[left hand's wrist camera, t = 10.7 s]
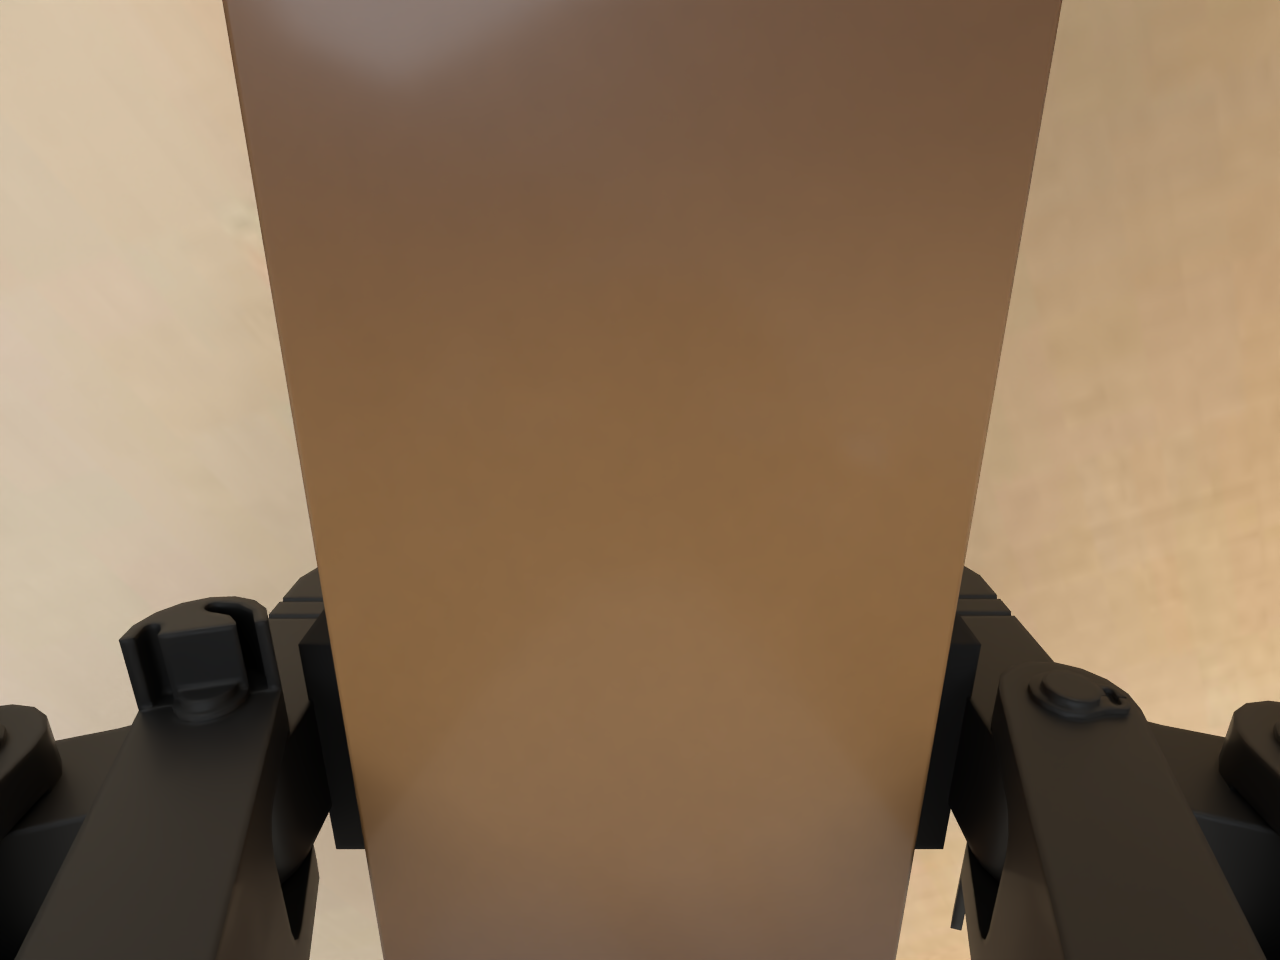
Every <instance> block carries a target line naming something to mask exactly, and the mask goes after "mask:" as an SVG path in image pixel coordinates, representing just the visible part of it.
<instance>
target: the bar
mask: <svg viewBox="0 0 1280 960" xmlns="http://www.w3.org/2000/svg"><path fill="white" fill-rule="evenodd" d="M222 1H223V7H224V13H225V19H226V25H227V31H228V36H229V42H230V48H231V54H232V60H233V66H234V72H235V78H236V84H237V90H238V96H239V102H240V108H241V114H242V120H243V126H244V132H245V138H246V144H247V149H248V155H249V161H250V167H251V173H252V179H253V185H254V191H255V197H256V203H257V209H258V215H259V221H260V227H261V233H262V239H263V245H264V251H265V257H266V262H267V268H268V274H269V280H270V286H271V292H272V298H273V304H274V310H275V316H276V322H277V328H278V334H279V340H280V346H281V352H282V358H283V364H284V370H285V375H286V381H287V387H288V393H289V399H290V405H291V411H292V417H293V423H294V429H295V435H296V441H297V447H298V453H299V459H300V465H301V471H302V477H303V482H304V488H305V494H306V500H307V506H308V512H309V518H310V524H311V530H312V536H313V542H314V548H315V554H316V560H317V566H318V572H319V578H320V584H321V590H322V595H323V601H324V607H325V613H326V619H327V625H328V631H329V637H330V643H331V649H332V655H333V661H334V667H335V673H336V679H337V685H338V691H339V697H340V703H341V708H342V714H343V720H344V726H345V732H346V738H347V744H348V750H349V756H350V762H351V768H352V774H353V780H354V786H355V792H356V798H357V804H358V810H359V815H360V821H361V827H362V833H363V839H364V845H365V851H366V857H367V863H368V869H369V875H370V881H371V887H372V893H373V899H374V905H375V911H376V917H377V923H378V928H379V934H380V940H381V946H382V952H383V958H384V960H895V959H896V954H897V948H898V942H899V936H900V931H901V925H902V919H903V913H904V908H905V902H906V896H907V890H908V885H909V879H910V873H911V867H912V862H913V856H914V850H915V844H916V839H917V833H918V827H919V821H920V816H921V810H922V804H923V798H924V793H925V787H926V781H927V775H928V770H929V764H930V758H931V752H932V746H933V741H934V735H935V729H936V723H937V718H938V712H939V706H940V700H941V695H942V689H943V683H944V677H945V672H946V666H947V660H948V654H949V649H950V643H951V637H952V631H953V626H954V620H955V614H956V608H957V603H958V597H959V591H960V585H961V580H962V574H963V568H964V562H965V557H966V551H967V545H968V539H969V534H970V528H971V522H972V516H973V511H974V505H975V499H976V493H977V488H978V482H979V476H980V470H981V465H982V459H983V453H984V447H985V442H986V436H987V430H988V424H989V419H990V413H991V407H992V401H993V395H994V390H995V384H996V378H997V372H998V367H999V361H1000V355H1001V349H1002V344H1003V338H1004V332H1005V326H1006V321H1007V315H1008V309H1009V303H1010V298H1011V292H1012V286H1013V280H1014V275H1015V269H1016V263H1017V257H1018V252H1019V246H1020V240H1021V234H1022V229H1023V223H1024V217H1025V211H1026V206H1027V200H1028V194H1029V188H1030V183H1031V177H1032V171H1033V165H1034V160H1035V154H1036V148H1037V142H1038V137H1039V131H1040V125H1041V119H1042V114H1043V108H1044V102H1045V96H1046V91H1047V85H1048V79H1049V73H1050V68H1051V62H1052V56H1053V50H1054V44H1055V39H1056V33H1057V27H1058V21H1059V16H1060V10H1061V4H1062V0H222Z"/></svg>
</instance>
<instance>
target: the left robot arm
mask: <svg viewBox="0 0 1280 960" xmlns="http://www.w3.org/2000/svg"><path fill="white" fill-rule="evenodd" d="M119 642H120V646H121V649H122V653H123V656H124V660H125V663H126V667H127V670H128V674H129V677H130V681H131V684H132V688H133V691H134V695H135V699H136V702H137V706H138V709H139V712H138V714H137V716H136V718H135V720H134V722H133V724H132V725H130V726H127V727H123V728H119V729H114V730H109V731H103V732H98V733H93V734H88V735H83V736H78V737H73V738H68V739H63V740H58V741H55V740H54V737H53V734H52V731H51V728H50V725H49V722H48V719H47V716H46V715H45V714H43V713H42V712H41V711H39V710H38V709H36V708H35V707H30V706H21V705H13V704H12V705H4V706H0V960H309V957H310V949H311V941H312V933H313V925H314V916H315V908H316V900H317V892H318V884H319V872H318V865H317V859H316V854H315V849H314V841H315V839H316V837H317V835H318V833H319V831H320V829H321V827H322V825H323V823H324V821H325V819H326V817H327V815H328V813H330V818H331V823H332V829H333V834H334V839H335V845H336V849H365V845H364V839H363V833H362V827H361V821H360V815H359V810H358V804H357V798H356V792H355V786H354V780H353V774H352V768H351V762H350V756H349V750H348V744H347V738H346V732H345V726H344V720H343V714H342V708H341V703H340V697H339V691H338V685H337V679H336V673H335V667H334V661H333V655H332V649H331V643H330V637H329V631H328V625H327V619H326V613H325V607H324V601H323V595H322V590H321V584H320V578H319V572H318V568H316V569H314V570H313V571H311V572H309V573H308V574H306V575H304V576H303V577H301V578H300V579H299V580H298V581H297V582H296V583H295V585H294V586H293V587H292V588H291V589H290V590H289V592H288V593H287V594H286V595H285V596H284V597H283V602H279V603H278V605H277V606H276V607H275V608H274V609H273V610H272V612H271V613H270V614H269V619H268V615H267V610H266V608H265V607H264V606H262V605H261V604H259V603H258V602H257V601H255V600H251V599H246V598H241V597H236V596H233V597H209V598H205V599H200V600H195V601H190V602H185V603H181V604H178V605H175V606H173V607H170V608H167V609H164V610H162V611H159V612H156V613H154V614H152V615H151V616H149V617H147V618H145V619H144V620H142V621H140V622H139V623H137V624H135V625H133V626H132V627H131V628H130V629H129V630H128V631H127V632H126V633H125V634H124V635H123V636H122V637H121V638H120V639H119ZM950 810H952V812H953V814H954V816H955V818H956V820H957V822H958V824H959V826H960V828H961V830H962V832H963V834H964V836H965V838H966V840H967V844H966V849H965V854H964V859H963V864H962V869H961V874H960V879H959V884H958V889H957V894H956V899H955V904H954V909H953V915H952V922H951V928H953V929H957V930H961V929H962V925H963V920H964V915H966V923H967V931H968V939H969V947H970V955H971V960H1280V702H1274V701H1262V702H1254V703H1246V704H1245V705H1243V706H1242V707H1240V708H1239V709H1238V710H1236V711H1235V712H1234V714H1233V717H1232V720H1231V723H1230V725H1229V728H1228V731H1227V734H1226V737H1220V736H1215V735H1210V734H1205V733H1200V732H1194V731H1189V730H1184V729H1179V728H1174V727H1169V726H1164V725H1159V724H1155V723H1151V722H1147V720H1146V718H1145V716H1144V714H1143V712H1142V710H1141V709H1140V708H1139V706H1138V705H1137V704H1136V703H1135V702H1134V700H1133V699H1132V698H1131V697H1130V695H1129V694H1128V693H1126V692H1125V691H1123V690H1122V689H1120V688H1119V687H1117V686H1116V685H1114V684H1113V683H1111V682H1110V681H1109V680H1107V679H1105V678H1102V677H1100V676H1098V675H1095V674H1093V673H1091V672H1088V671H1086V670H1084V669H1081V668H1077V667H1072V666H1068V665H1064V664H1060V663H1055V662H1054V661H1053V660H1052V659H1051V658H1050V657H1049V656H1048V654H1047V653H1046V652H1045V651H1044V650H1043V649H1042V647H1041V646H1040V645H1039V644H1038V643H1037V642H1036V640H1035V639H1034V638H1033V637H1032V636H1031V635H1030V633H1029V632H1028V631H1027V630H1026V629H1025V628H1024V626H1023V625H1022V624H1021V623H1020V622H1019V620H1018V619H1017V618H1016V617H1015V616H1011V611H1010V610H1009V609H1008V608H1007V606H1006V605H1005V604H1004V603H1003V602H1002V601H1001V599H997V595H996V594H995V592H994V591H993V590H992V589H991V588H990V587H989V585H988V584H987V583H986V582H985V581H984V580H983V578H982V577H981V576H980V575H978V574H977V573H975V572H973V571H972V570H970V569H968V568H967V567H965V566H964V568H963V574H962V580H961V585H960V591H959V597H958V603H957V608H956V614H955V620H954V626H953V631H952V637H951V643H950V649H949V654H948V660H947V666H946V672H945V677H944V683H943V689H942V695H941V700H940V706H939V712H938V718H937V723H936V729H935V735H934V741H933V746H932V752H931V758H930V764H929V770H928V775H927V781H926V787H925V793H924V798H923V804H922V810H921V816H920V821H919V827H918V833H917V839H916V844H915V849H943V847H944V842H945V836H946V831H947V826H948V820H949V815H950Z"/></svg>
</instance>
